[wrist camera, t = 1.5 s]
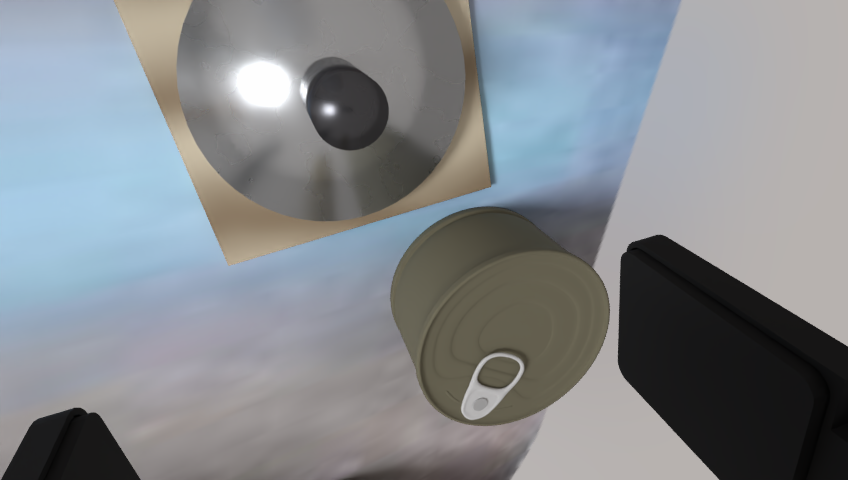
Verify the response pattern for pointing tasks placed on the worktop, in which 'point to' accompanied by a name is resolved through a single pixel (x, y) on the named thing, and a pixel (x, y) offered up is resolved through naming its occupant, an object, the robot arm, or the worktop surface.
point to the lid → (321, 99)
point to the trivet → (250, 222)
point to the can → (496, 316)
